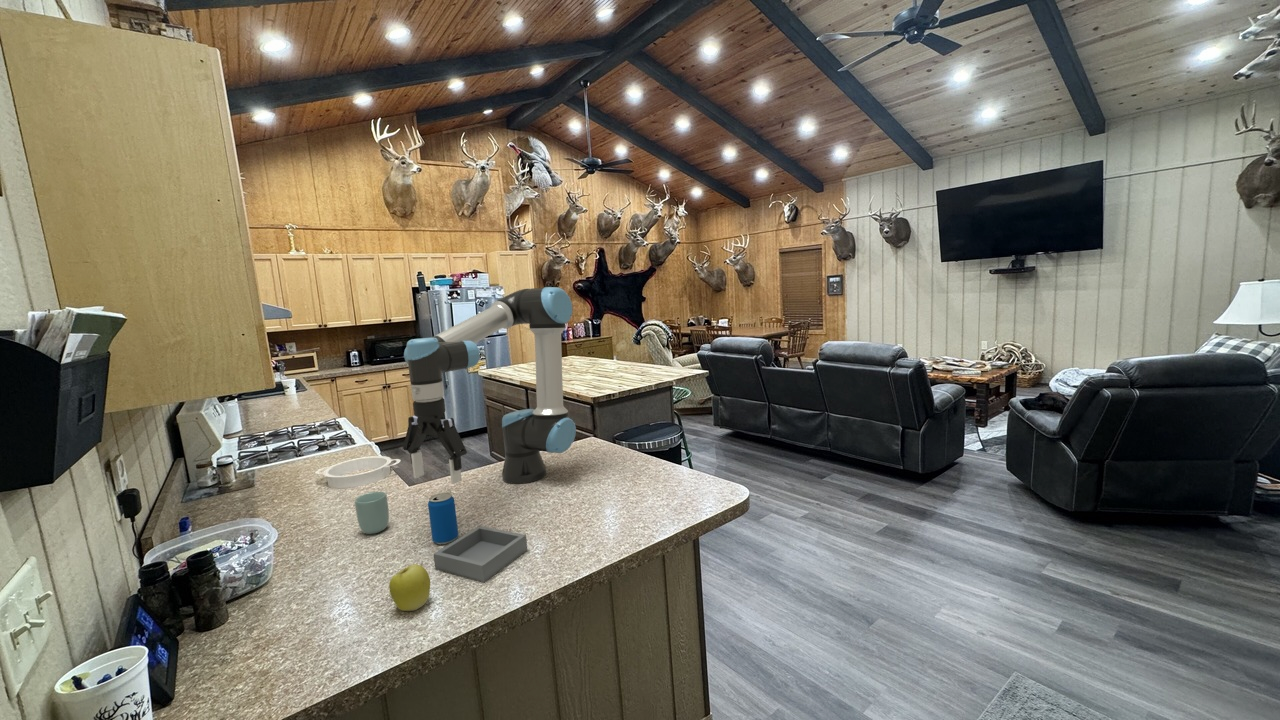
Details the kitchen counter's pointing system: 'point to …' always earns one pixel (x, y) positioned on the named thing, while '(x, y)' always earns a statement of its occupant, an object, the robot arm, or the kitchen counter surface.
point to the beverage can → (443, 518)
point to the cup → (372, 512)
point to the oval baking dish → (357, 464)
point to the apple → (410, 588)
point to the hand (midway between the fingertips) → (437, 479)
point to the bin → (480, 553)
